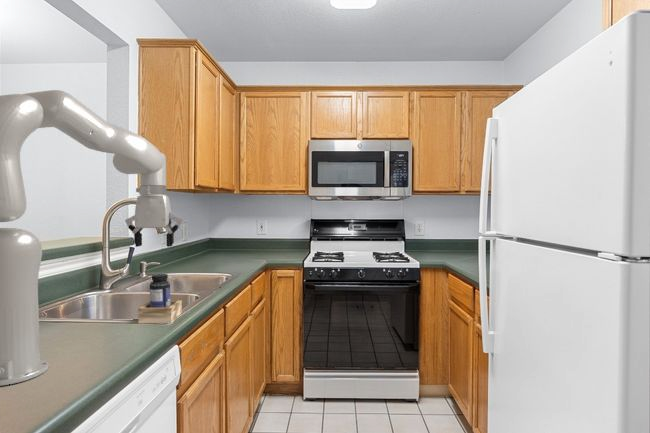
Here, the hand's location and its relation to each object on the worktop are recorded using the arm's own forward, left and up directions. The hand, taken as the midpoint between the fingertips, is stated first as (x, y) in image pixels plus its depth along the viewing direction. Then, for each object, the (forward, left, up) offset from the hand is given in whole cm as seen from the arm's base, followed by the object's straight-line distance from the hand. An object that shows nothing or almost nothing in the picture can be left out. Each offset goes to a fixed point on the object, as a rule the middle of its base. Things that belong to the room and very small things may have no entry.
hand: (154, 246), depth 129 cm
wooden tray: (+1, -1, -23) cm, 23 cm away
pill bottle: (+1, -1, -21) cm, 21 cm away
